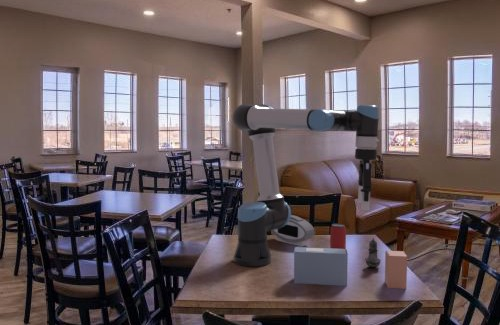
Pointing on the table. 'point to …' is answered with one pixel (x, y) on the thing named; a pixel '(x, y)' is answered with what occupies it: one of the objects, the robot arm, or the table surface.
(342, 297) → the table surface
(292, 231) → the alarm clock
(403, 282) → the stub
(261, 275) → the table surface
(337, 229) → the beer can
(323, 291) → the table surface
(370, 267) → the dark rounded upright piece
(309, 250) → the gray rectangular box
